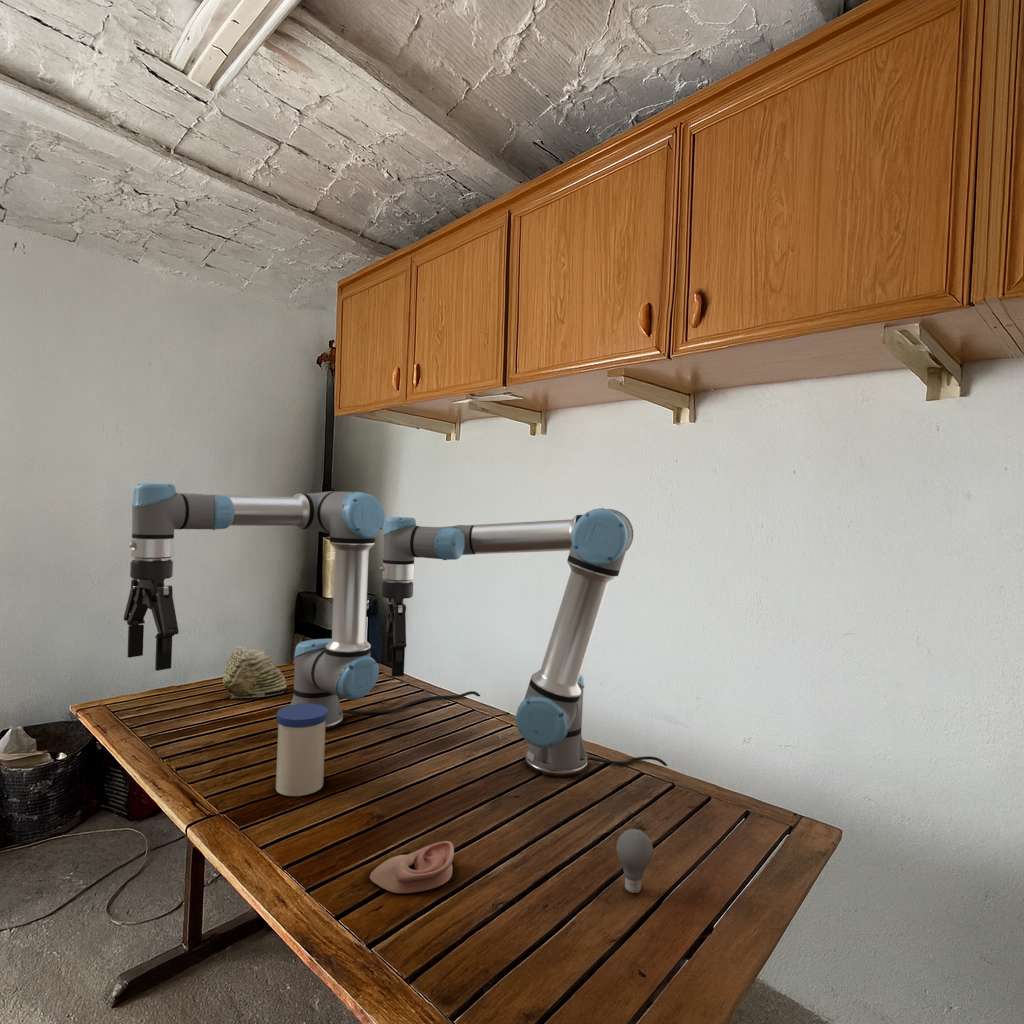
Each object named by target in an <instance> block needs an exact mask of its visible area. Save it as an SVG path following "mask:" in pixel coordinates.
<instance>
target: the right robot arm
mask: <svg viewBox="0 0 1024 1024" xmlns="http://www.w3.org/2000/svg"><path fill="white" fill-rule="evenodd" d="M382 537H383V542H382V543H383V547H382V549H383V550H382V566H380V567H379V571H380V572H382V577H381V578H382V579H383V581H382V582H381V592H380V593H381V595H380V596H381V597H383V598H384V599H388V603H387V617H386V618H387V619H386V627H385V630H386V652H385V662H386V663H391V677H392V678H393V677H404V676H405V658H406V657H405V655H406V653H405V652H406V648H407V624H406V623H407V622H406V612H407V605H406V604H405V603H404V600H405V599H410V598H413V596H414V583H413V582H414V581H413V580H414V579H415V558H422V559H433V560H435V559H436V560H442V561H450V560H453V561H456V560H459V559H460V558H461V557H462V556H468V555H469V556H471V555H488V554H490V555H491V554H516V553H517V554H519V553H521V554H522V553H544V552H546V553H547V552H569V553H568V557H567V560H566V562H567V564H568V566H569V567H570V574H569V576H568V579H567V583H566V586H565V590H564V593H563V595H562V599H561V603H560V606H559V609H558V612H557V616H556V619H555V621H554V625H553V628H552V631H551V635H550V638H549V641H548V645H547V647H546V650H545V654H544V657H543V660H542V663H541V666H540V669H539V670H537V671H536V672H534V673H532V674H531V676H530V680H529V683H528V686H527V689H526V692H525V696H524V698H523V700H522V702H520V704H519V705H518V707H517V710H516V714H515V724H516V728H517V730H518V732H519V734H520V736H521V737H522V738H523V739H524V740H525V741H526V742H527V743H528V746H527V748H526V752H525V757H524V758H525V759H524V762H525V765H526V766H527V768H529V769H530V770H531V771H533V772H535V773H538V774H540V775H544V776H550V777H556V778H557V777H561V778H563V777H573V776H577V775H579V774H580V775H581V774H582V773H584V772H585V771H586V770H588V761H594V762H599V763H605V764H611V765H617V766H619V765H620V766H622V765H628V764H630V763H632V762H636V761H644V760H651V761H657V762H658V763H660V764H662V765H663V766H665V767H667V766H669V765H668V764H667V763H666V762H665V761H664V760H663V759H661V758H659V757H656V756H650V755H648V756H647V755H646V756H637V757H630V758H629V759H627V760H624V761H623V760H622V761H617V760H610V759H605V758H600V757H594V756H593V757H592V756H588V754H587V751H586V747H585V743H584V739H583V735H582V729H583V728H582V726H583V706H584V705H583V704H584V688H585V684H584V683H585V681H584V675H582V673H581V671H582V668H583V665H584V661H585V659H586V656H587V652H588V650H589V646H590V644H591V640H592V637H593V633H594V631H595V627H596V624H597V621H598V618H599V614H600V611H601V609H602V605H603V601H604V598H605V595H606V592H607V589H608V586H609V583H610V582H611V581H613V580H615V579H617V578H618V577H619V575H620V571H621V568H622V565H623V562H624V559H625V556H626V553H627V552H628V550H629V549H630V548H631V546H632V544H633V540H634V527H633V525H632V522H631V521H630V519H629V518H628V517H627V516H626V515H625V514H624V513H623V512H621V511H619V510H616V509H612V508H604V507H601V508H599V507H598V508H594V509H591V510H588V511H586V512H585V513H584V514H576V515H574V517H573V518H572V519H556V520H553V519H552V520H536V521H535V520H534V521H521V522H519V521H518V522H499V523H482V524H457V525H452V526H451V525H449V526H420V525H417V520H416V518H414V517H410V516H409V517H407V516H389V517H387V518H385V522H384V526H383V534H382Z"/></svg>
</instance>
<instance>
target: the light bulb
mask: <svg viewBox="0 0 1024 1024" xmlns="http://www.w3.org/2000/svg"><path fill="white" fill-rule="evenodd" d="M615 849H616V854H617V857H618V859H619V861H620V863H621V865H622V867H623V873H624V874H623V875H624V876H625V878H624V888H625V890H627V891H628V892H630V893H634V894H635V893H639V892H640V891H641V889H642V887H641V886H642V879H643V877H644V875H645V871H646V868H647V867H648V866H649V864H650V863H651V861H652V859H653V855H654V847H653V843H652V841H651V838H649V836H648V835H647V834H646V833H645V832H643V831H642V830H641V829H636V828H629V829H627V830H625V831H623V832H622V833H621V834H620V835H619V837H618V839H617V841H616V847H615Z"/></svg>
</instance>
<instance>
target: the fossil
mask: <svg viewBox="0 0 1024 1024" xmlns="http://www.w3.org/2000/svg"><path fill="white" fill-rule="evenodd" d="M222 676H223V677H222V685H223V687H224V688H225V690H226V691H228V693H229V698H230V699H250V698H264V697H271V696H275V695H281V694H284V693H285V691H286V689H287V687H288V686H287V680H286V678H285V676H284V674H283V673H282V672H281V669H279V668H278V667H277V665H276V663H275V662H274V660H273V659H272V658H271V657H270V656H269V655H268V654H267V653H266V652H265V650H264V649H263V648H260V647H258V648H251V647H247V646H246V647H245V646H238V647H237V648H236V649H235V650H233V651H232V653H231V656H230V657H229V659H228V660H227V663H226V666H225V668H224V671H223V675H222Z"/></svg>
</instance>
